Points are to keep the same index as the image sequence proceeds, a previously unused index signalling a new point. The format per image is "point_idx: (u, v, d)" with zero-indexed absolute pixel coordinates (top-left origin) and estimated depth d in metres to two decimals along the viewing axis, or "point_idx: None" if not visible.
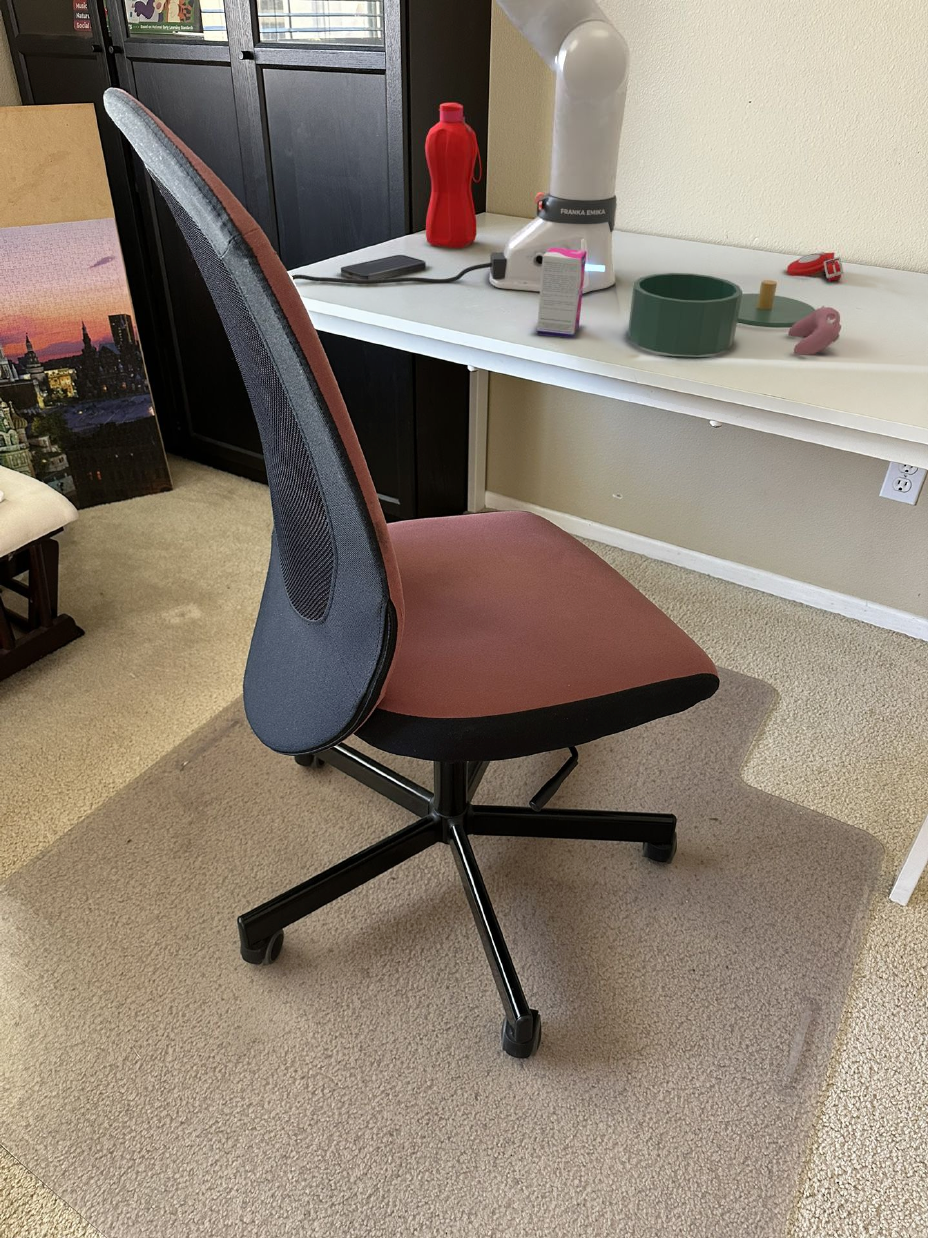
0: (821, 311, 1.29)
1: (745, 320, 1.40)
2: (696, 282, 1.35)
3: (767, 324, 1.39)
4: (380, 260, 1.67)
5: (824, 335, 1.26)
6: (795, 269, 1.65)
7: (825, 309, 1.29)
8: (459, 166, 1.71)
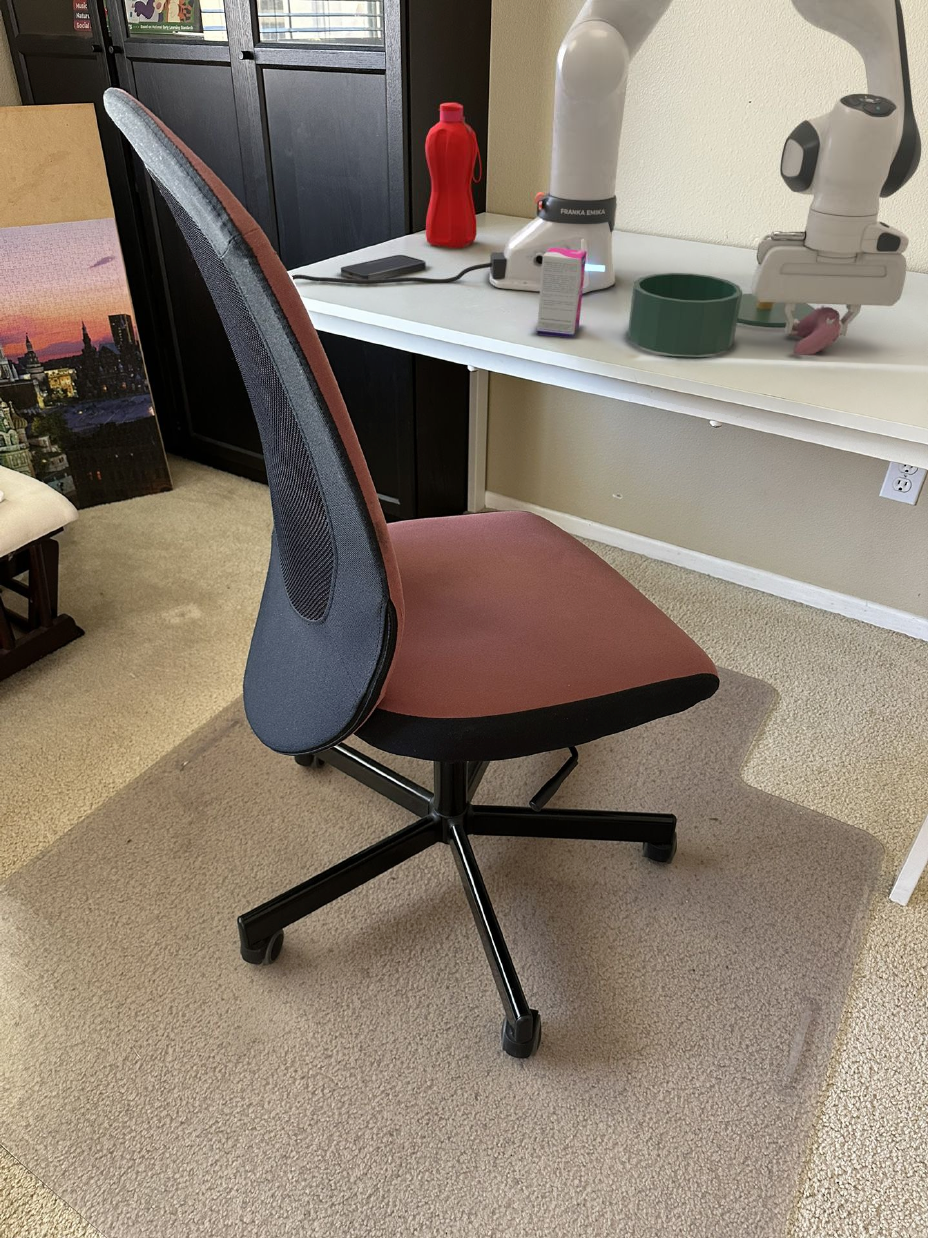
0: (820, 311, 1.29)
1: (745, 320, 1.40)
2: (696, 282, 1.35)
3: (767, 324, 1.39)
4: (380, 260, 1.67)
5: (823, 335, 1.26)
6: None
7: (824, 309, 1.29)
8: (459, 166, 1.71)
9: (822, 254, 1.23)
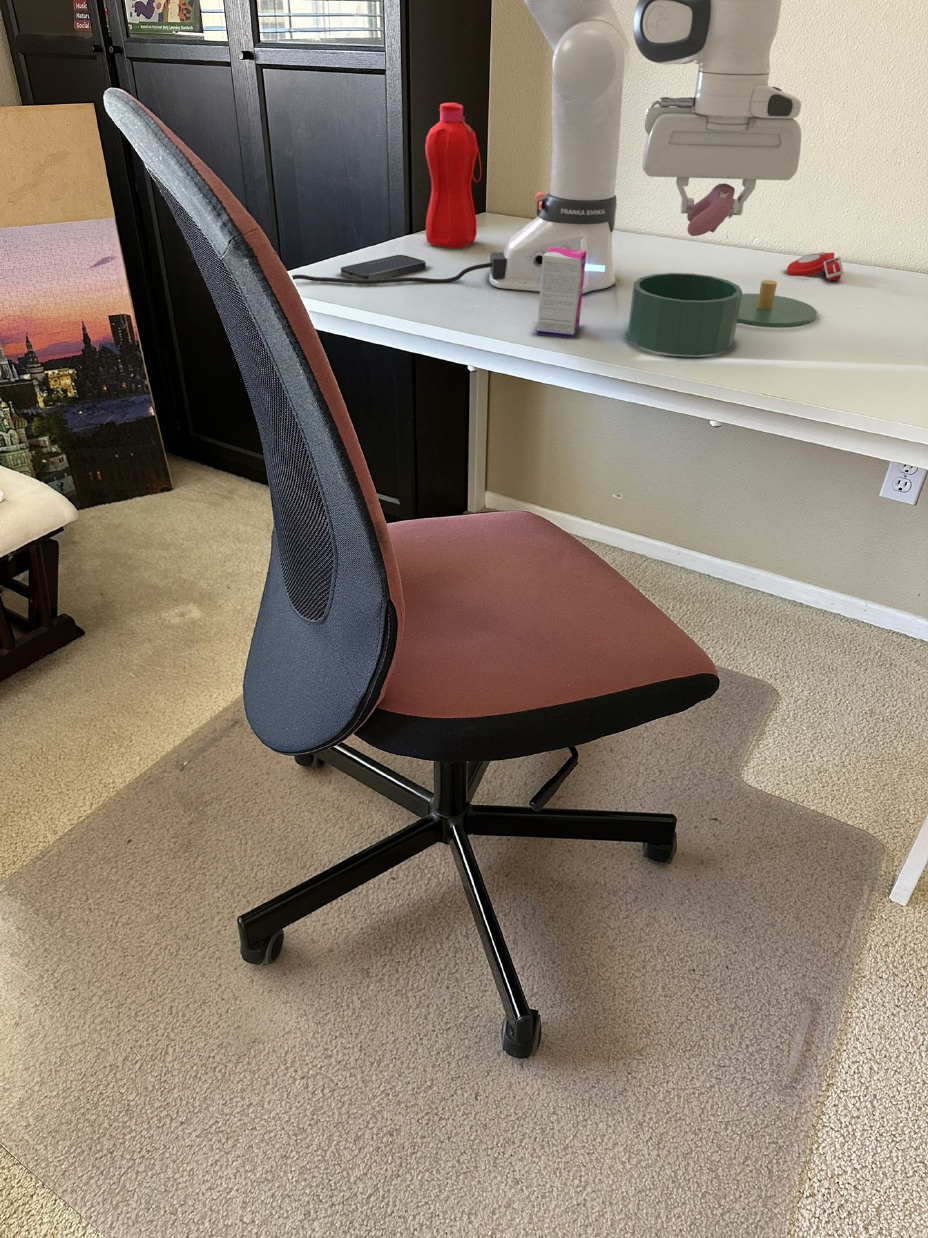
0: (715, 187, 1.22)
1: (745, 320, 1.40)
2: (696, 282, 1.35)
3: (767, 324, 1.39)
4: (380, 260, 1.67)
5: (717, 210, 1.19)
6: (795, 269, 1.65)
7: (719, 184, 1.22)
8: (459, 166, 1.71)
9: (712, 120, 1.16)
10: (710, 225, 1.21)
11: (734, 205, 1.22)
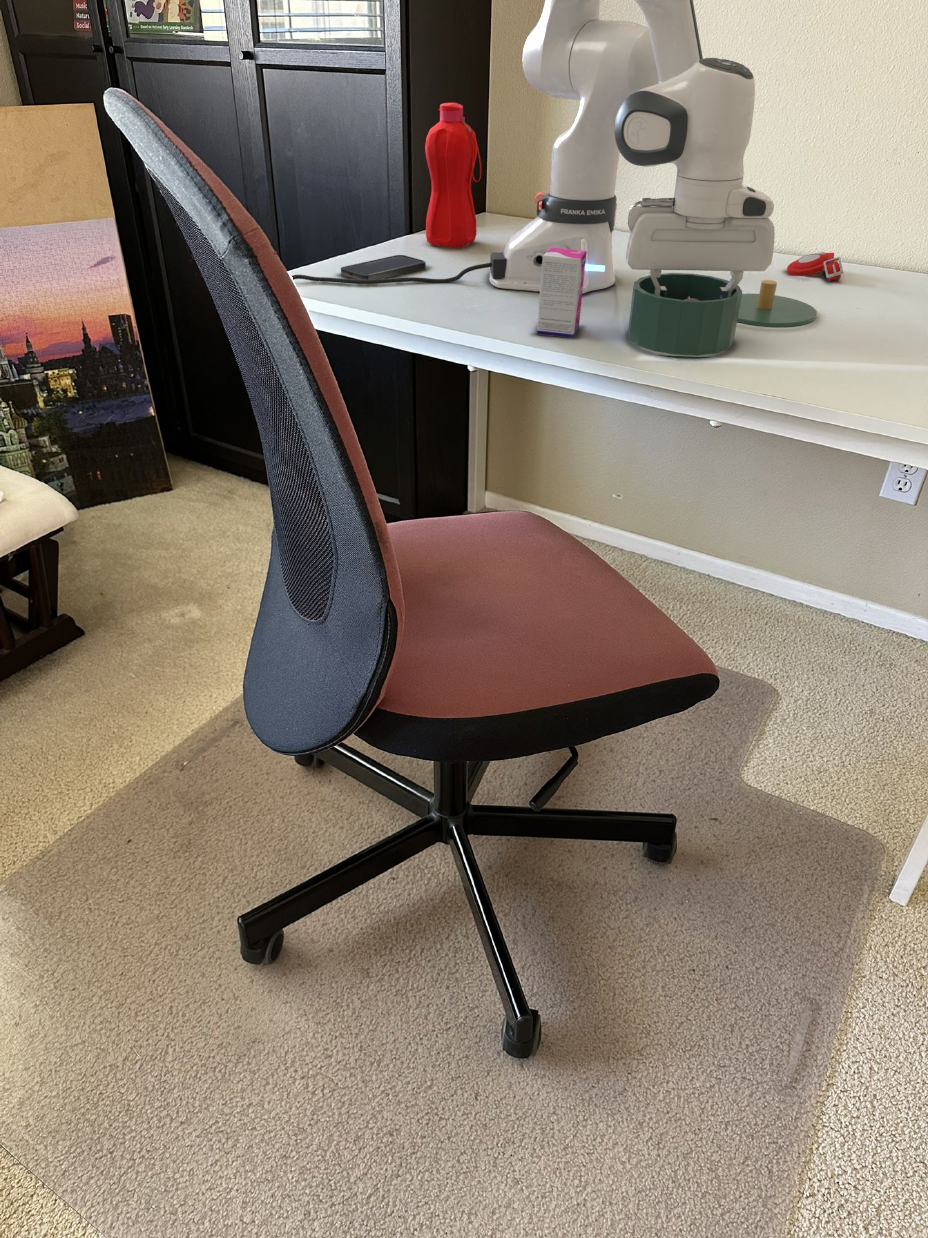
0: None
1: (745, 320, 1.40)
2: (696, 282, 1.35)
3: (767, 324, 1.39)
4: (380, 260, 1.67)
5: None
6: (795, 269, 1.65)
7: None
8: (459, 166, 1.71)
9: (690, 220, 1.23)
10: None
11: (723, 294, 1.30)
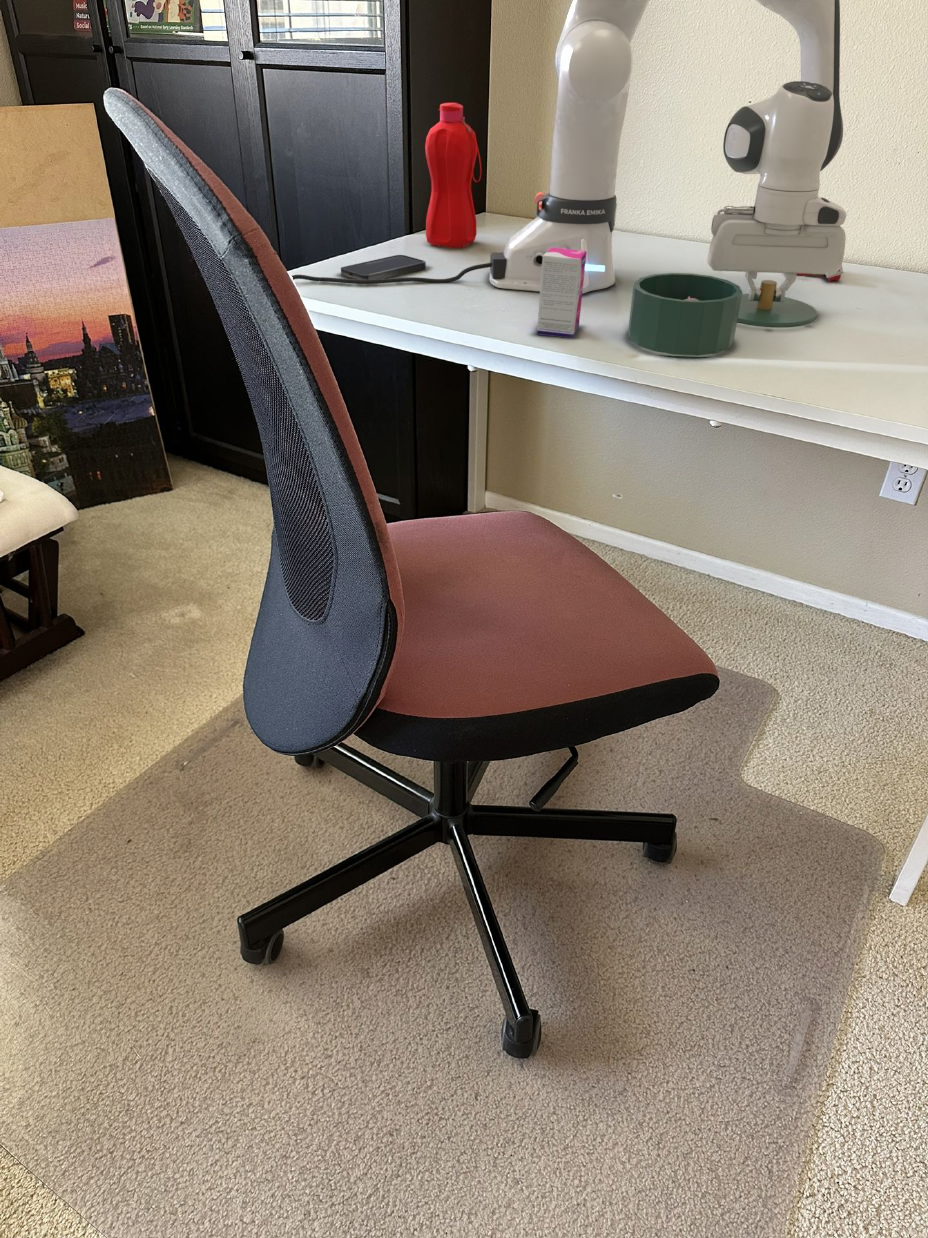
0: None
1: (745, 320, 1.40)
2: (696, 282, 1.35)
3: (767, 324, 1.39)
4: (380, 260, 1.67)
5: None
6: None
7: None
8: (459, 166, 1.71)
9: (769, 226, 1.36)
10: None
11: (777, 294, 1.43)
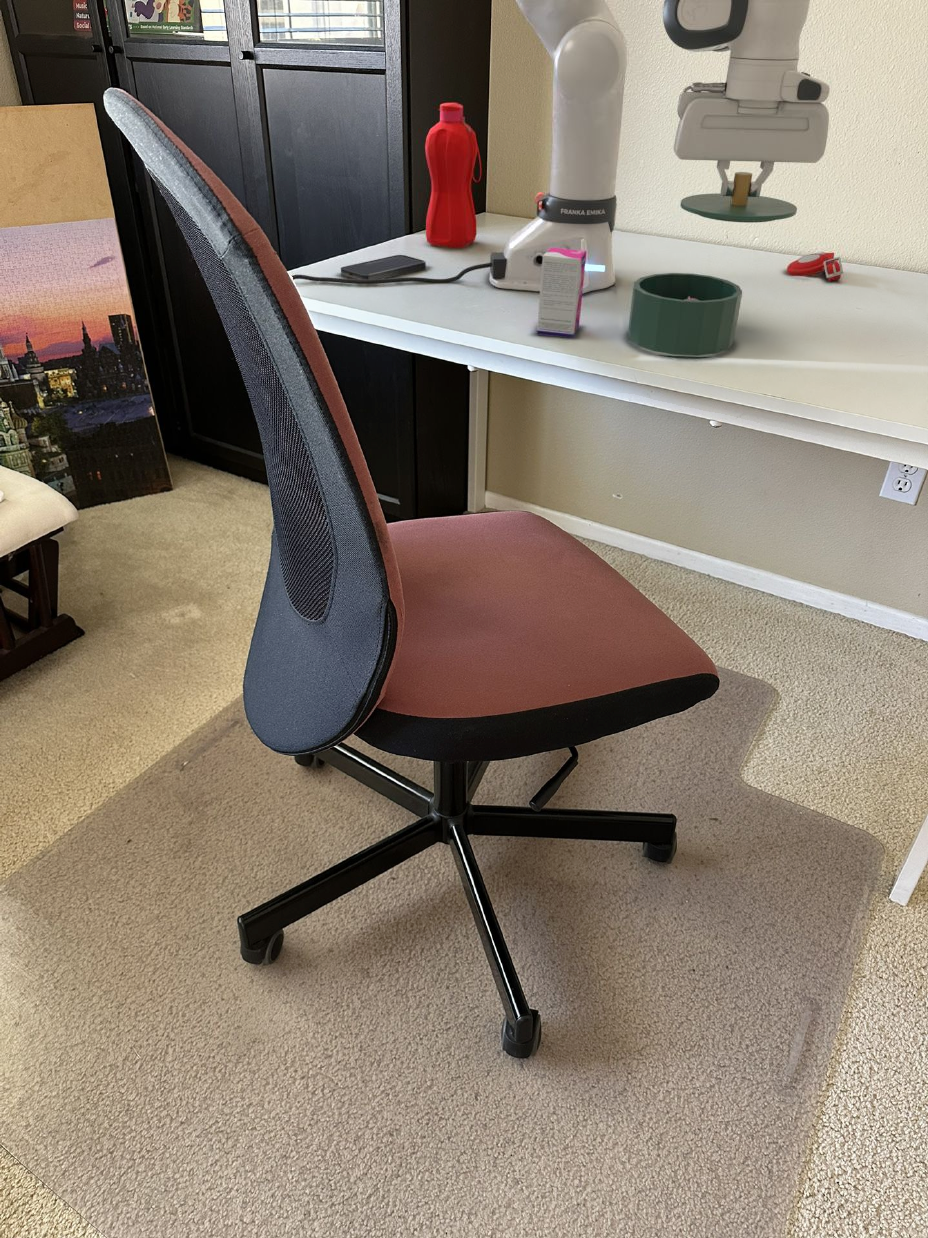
0: None
1: (716, 214, 1.23)
2: (696, 282, 1.35)
3: (741, 218, 1.23)
4: (380, 260, 1.67)
5: None
6: (795, 269, 1.65)
7: None
8: (459, 166, 1.71)
9: (743, 105, 1.20)
10: None
11: (752, 187, 1.27)
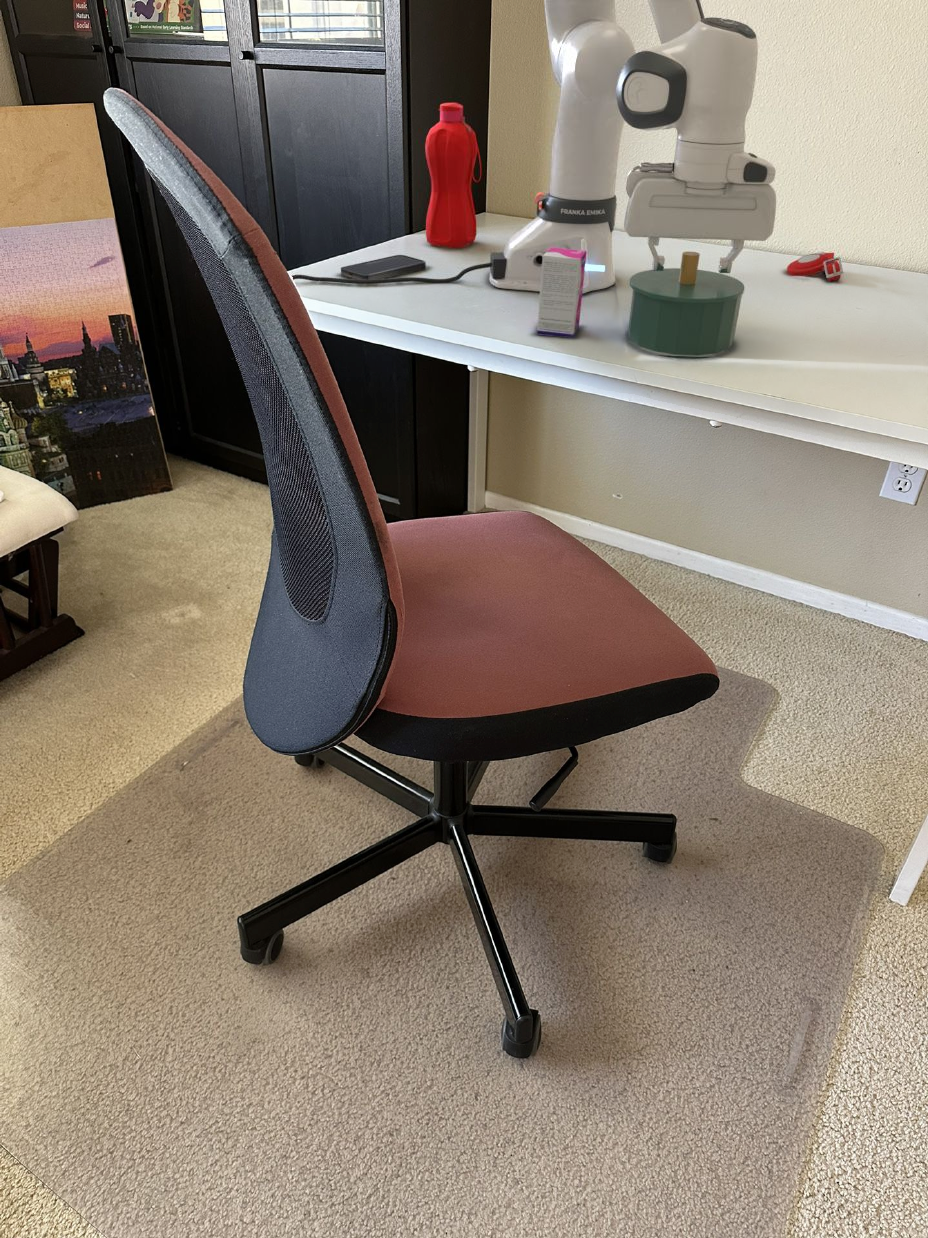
0: None
1: (661, 296, 1.24)
2: None
3: (685, 300, 1.23)
4: (380, 260, 1.67)
5: None
6: (795, 269, 1.65)
7: None
8: (459, 166, 1.71)
9: (690, 185, 1.20)
10: None
11: (723, 264, 1.27)
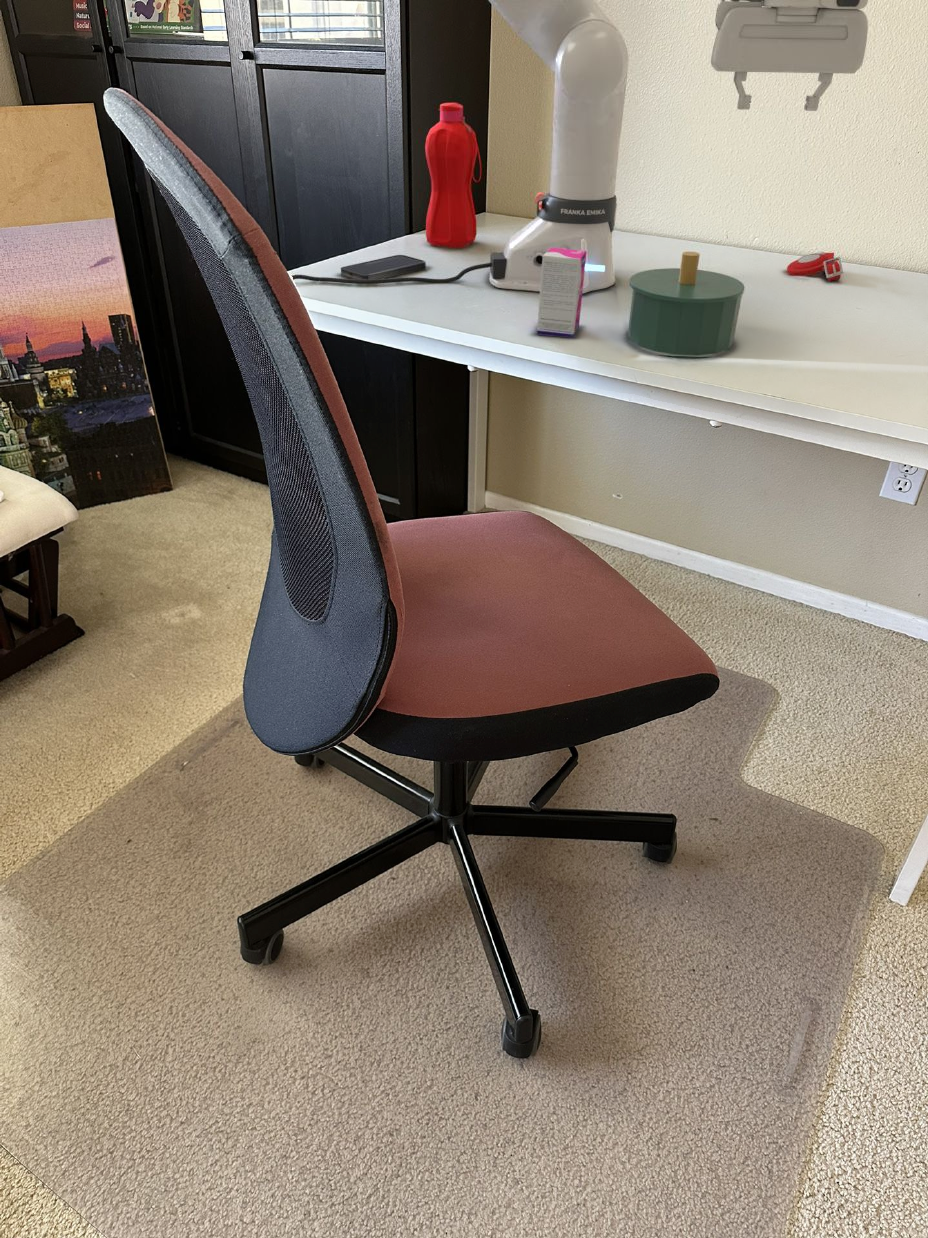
0: None
1: (661, 296, 1.24)
2: None
3: (685, 300, 1.23)
4: (380, 260, 1.67)
5: None
6: (795, 269, 1.65)
7: None
8: (459, 166, 1.71)
9: (781, 12, 1.20)
10: None
11: (810, 100, 1.26)
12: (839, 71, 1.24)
